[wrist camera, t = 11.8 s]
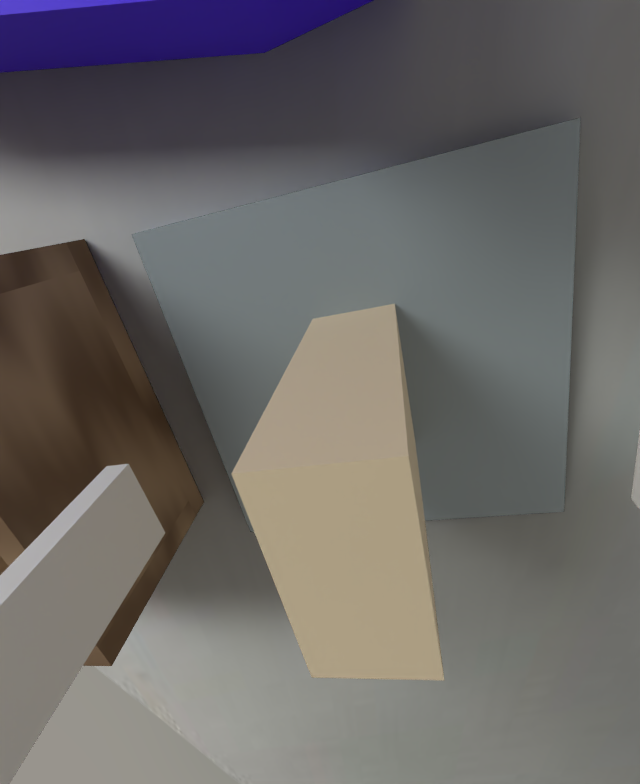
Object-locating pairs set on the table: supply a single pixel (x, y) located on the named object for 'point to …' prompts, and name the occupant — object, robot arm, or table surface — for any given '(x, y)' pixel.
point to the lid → (382, 375)
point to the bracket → (151, 29)
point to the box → (79, 415)
